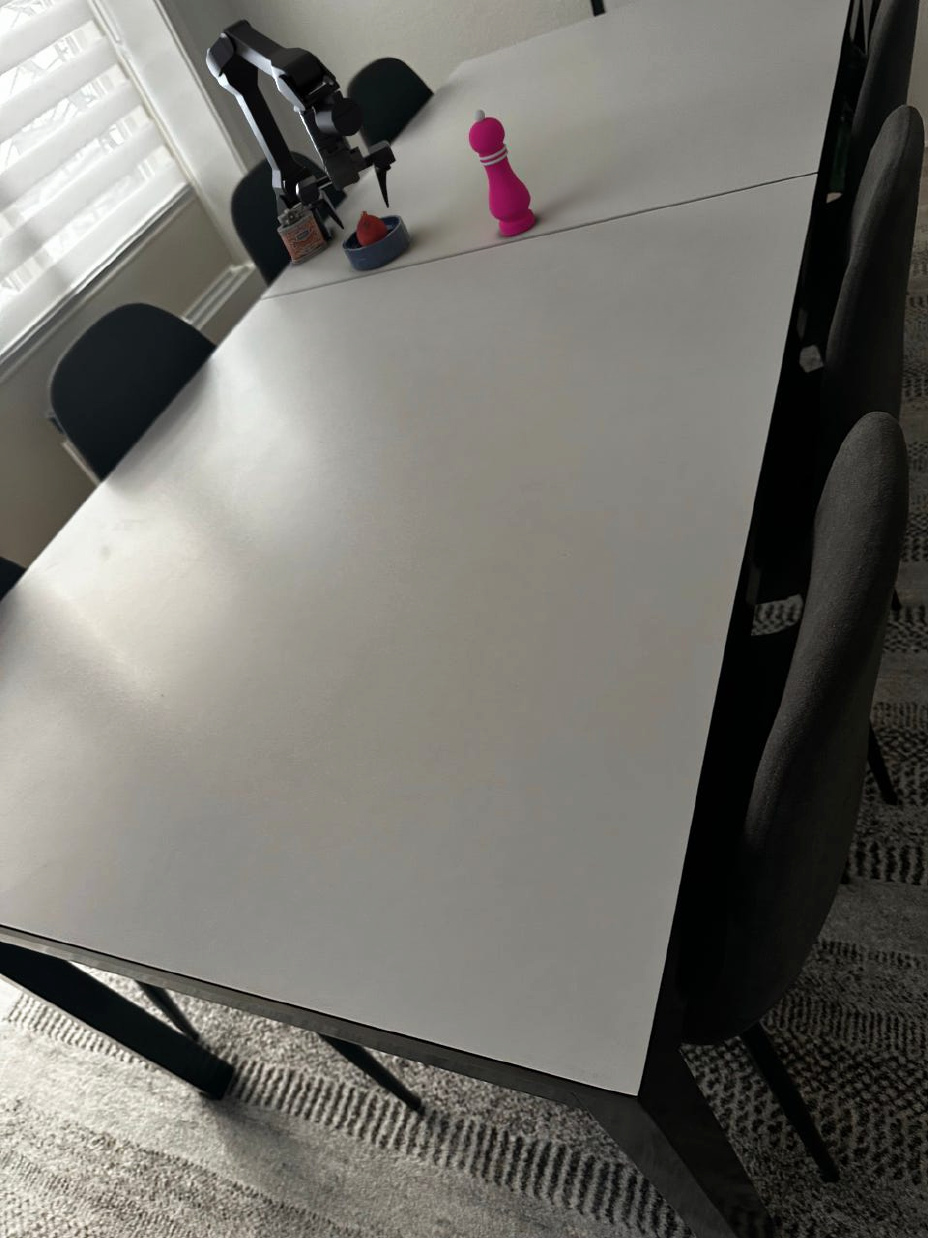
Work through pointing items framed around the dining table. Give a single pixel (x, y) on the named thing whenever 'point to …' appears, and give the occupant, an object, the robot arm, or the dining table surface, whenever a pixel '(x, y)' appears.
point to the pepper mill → (501, 176)
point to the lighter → (300, 233)
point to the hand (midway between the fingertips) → (365, 217)
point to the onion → (370, 229)
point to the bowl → (378, 245)
